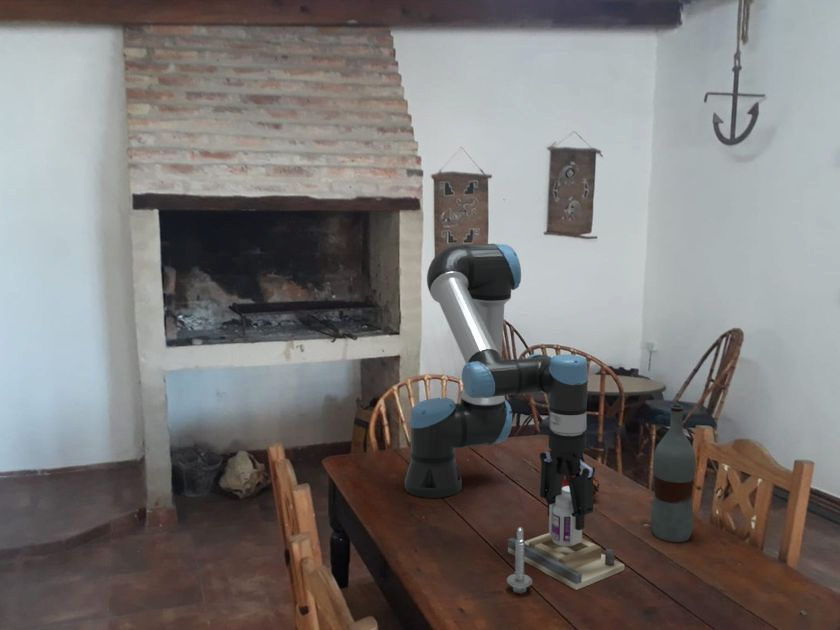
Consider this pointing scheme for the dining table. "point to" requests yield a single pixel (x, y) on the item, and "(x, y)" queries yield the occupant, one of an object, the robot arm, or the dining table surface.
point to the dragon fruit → (595, 485)
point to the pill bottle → (562, 520)
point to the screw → (519, 566)
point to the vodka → (673, 483)
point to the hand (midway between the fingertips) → (565, 537)
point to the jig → (569, 560)
